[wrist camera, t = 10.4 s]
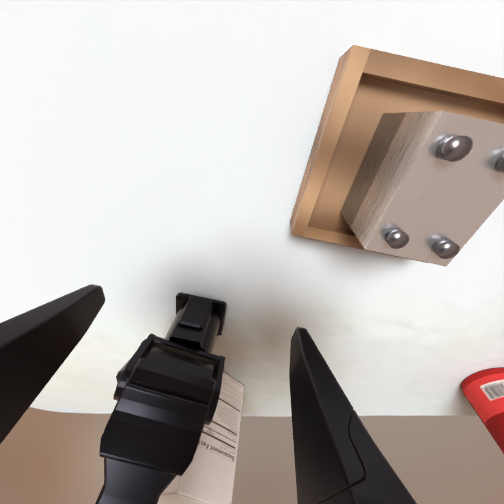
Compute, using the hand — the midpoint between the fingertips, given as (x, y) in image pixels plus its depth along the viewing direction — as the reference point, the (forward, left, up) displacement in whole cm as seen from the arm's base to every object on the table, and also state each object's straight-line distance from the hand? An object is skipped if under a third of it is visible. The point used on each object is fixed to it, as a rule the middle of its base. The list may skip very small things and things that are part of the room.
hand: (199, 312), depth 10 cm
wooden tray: (+6, -11, -13) cm, 18 cm away
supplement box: (-34, 0, -13) cm, 37 cm away
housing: (+6, -11, -11) cm, 17 cm away
